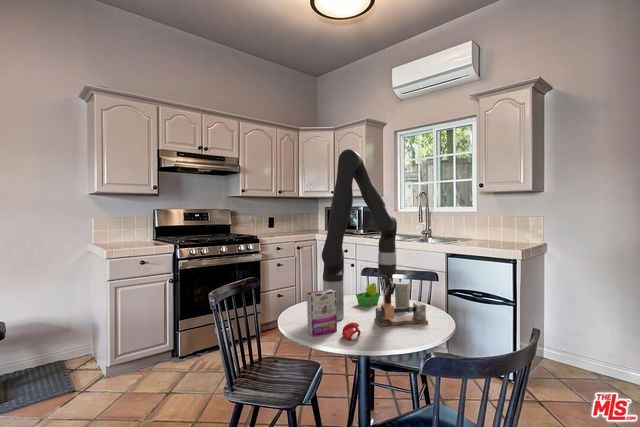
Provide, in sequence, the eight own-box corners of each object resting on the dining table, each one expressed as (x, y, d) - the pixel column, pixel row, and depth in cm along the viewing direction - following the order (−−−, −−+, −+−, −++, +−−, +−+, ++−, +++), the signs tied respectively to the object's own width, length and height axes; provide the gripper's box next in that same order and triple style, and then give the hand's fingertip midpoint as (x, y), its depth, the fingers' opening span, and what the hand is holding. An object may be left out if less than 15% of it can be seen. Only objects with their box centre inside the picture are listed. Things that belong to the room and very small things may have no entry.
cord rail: (380, 327, 146) (380, 309, 146) (374, 321, 154) (374, 303, 154) (428, 324, 150) (427, 306, 149) (419, 318, 157) (419, 300, 157)
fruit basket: (370, 300, 187) (370, 279, 186) (383, 304, 180) (383, 282, 179) (354, 304, 179) (354, 282, 179) (367, 308, 173) (367, 285, 172)
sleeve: (385, 319, 148) (384, 295, 147) (380, 315, 153) (380, 291, 153) (394, 318, 148) (394, 294, 148) (389, 314, 154) (389, 291, 153)
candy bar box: (331, 327, 147) (330, 288, 146) (337, 331, 142) (336, 291, 142) (306, 332, 142) (306, 292, 141) (312, 336, 137) (311, 294, 137)
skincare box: (409, 307, 174) (409, 282, 173) (408, 309, 170) (407, 284, 169) (396, 305, 176) (396, 281, 176) (394, 308, 172) (394, 283, 172)
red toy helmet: (366, 329, 135) (357, 318, 139) (357, 328, 131) (348, 316, 135) (353, 344, 137) (345, 333, 141) (344, 344, 132) (336, 332, 136)
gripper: (373, 260, 156) (373, 299, 157) (384, 265, 143) (384, 308, 143) (389, 259, 157) (389, 298, 158) (401, 264, 144) (402, 306, 144)
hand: (387, 302), depth 150 cm, fingers closed
